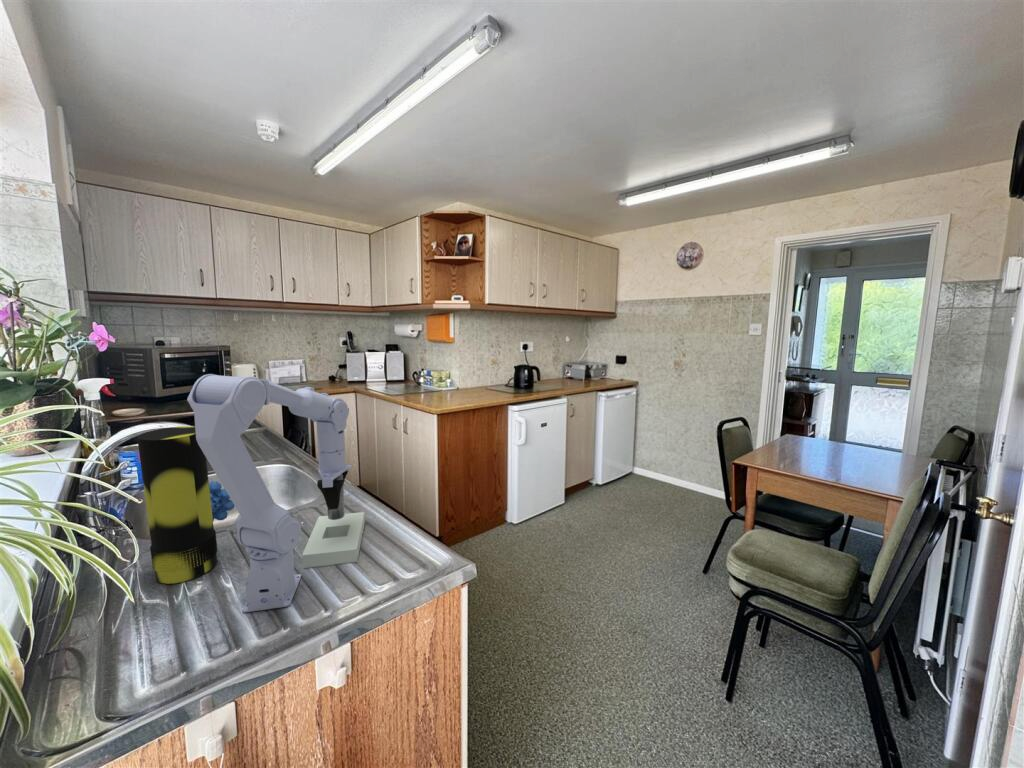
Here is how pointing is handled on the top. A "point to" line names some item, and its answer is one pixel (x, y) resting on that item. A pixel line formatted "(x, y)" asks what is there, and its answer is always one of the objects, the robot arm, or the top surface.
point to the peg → (339, 512)
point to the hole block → (334, 541)
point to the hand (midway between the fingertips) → (334, 504)
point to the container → (177, 504)
